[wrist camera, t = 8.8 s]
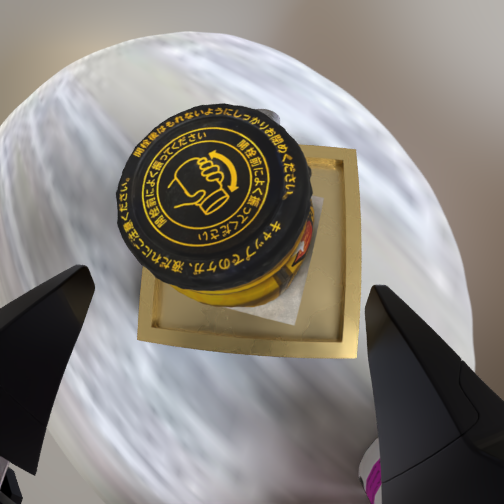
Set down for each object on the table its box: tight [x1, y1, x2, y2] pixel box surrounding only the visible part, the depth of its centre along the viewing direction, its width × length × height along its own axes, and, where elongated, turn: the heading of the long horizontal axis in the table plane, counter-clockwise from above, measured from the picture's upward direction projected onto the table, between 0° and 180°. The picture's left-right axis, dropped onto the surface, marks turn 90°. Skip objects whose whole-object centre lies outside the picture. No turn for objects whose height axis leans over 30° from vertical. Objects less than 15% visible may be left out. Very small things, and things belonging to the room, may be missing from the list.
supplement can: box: [359, 438, 382, 504], centre depth 10 cm, size 8×8×15 cm
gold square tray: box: [137, 109, 361, 358], centre depth 20 cm, size 18×14×4 cm
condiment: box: [116, 104, 324, 325], centre depth 13 cm, size 7×8×12 cm
